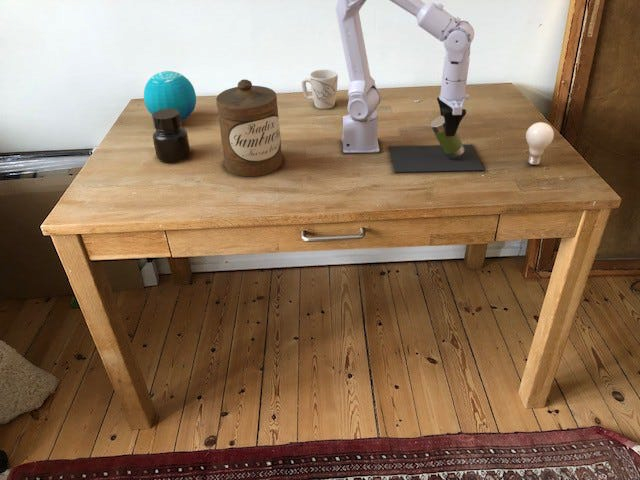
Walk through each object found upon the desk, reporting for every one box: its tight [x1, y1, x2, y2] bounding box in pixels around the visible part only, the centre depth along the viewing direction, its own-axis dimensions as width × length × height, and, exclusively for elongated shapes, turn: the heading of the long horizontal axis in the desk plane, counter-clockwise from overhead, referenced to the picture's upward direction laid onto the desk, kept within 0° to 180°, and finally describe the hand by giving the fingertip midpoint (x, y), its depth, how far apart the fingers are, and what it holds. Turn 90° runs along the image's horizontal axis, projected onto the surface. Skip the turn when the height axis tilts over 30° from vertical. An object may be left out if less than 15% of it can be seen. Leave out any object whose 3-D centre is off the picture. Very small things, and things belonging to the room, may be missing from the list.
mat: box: [389, 144, 485, 174], centre depth 141 cm, size 22×14×1 cm, turn 90°
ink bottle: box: [151, 109, 192, 164], centre depth 143 cm, size 10×9×12 cm
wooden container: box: [215, 78, 283, 177], centre depth 136 cm, size 15×15×22 cm
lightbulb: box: [525, 121, 555, 166], centre depth 134 cm, size 6×6×11 cm
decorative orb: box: [143, 70, 197, 123], centre depth 161 cm, size 15×15×15 cm
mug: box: [301, 69, 339, 110], centre depth 170 cm, size 11×8×10 cm
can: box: [430, 115, 465, 159], centre depth 138 cm, size 5×5×10 cm
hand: (448, 131), depth 136 cm, fingers closed on can, 5 cm apart
